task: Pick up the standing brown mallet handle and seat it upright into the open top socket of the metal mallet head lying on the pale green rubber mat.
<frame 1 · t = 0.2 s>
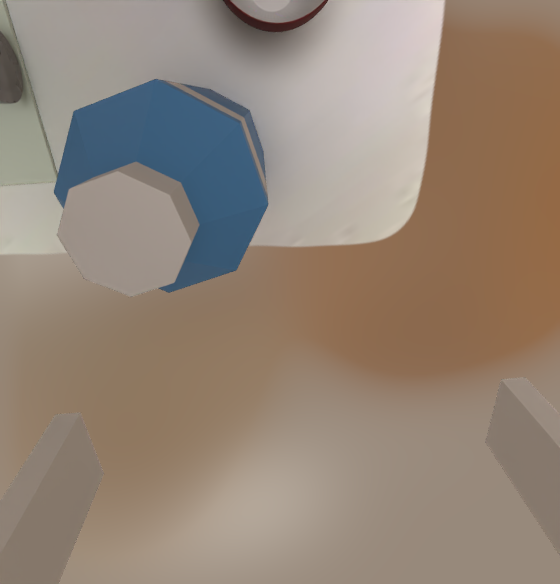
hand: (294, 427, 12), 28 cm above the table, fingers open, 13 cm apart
water bottle: (211, 148, 35), on the table
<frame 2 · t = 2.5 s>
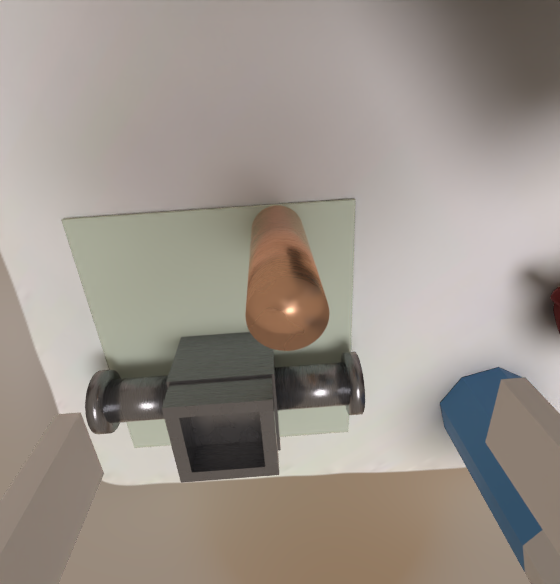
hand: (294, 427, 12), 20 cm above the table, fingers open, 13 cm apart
metal mallet head: (231, 369, 36), resting on mat
mat: (228, 340, 35), on the table
brown mallet handle: (277, 231, 30), resting on mat
water bottle: (483, 402, 40), on the table
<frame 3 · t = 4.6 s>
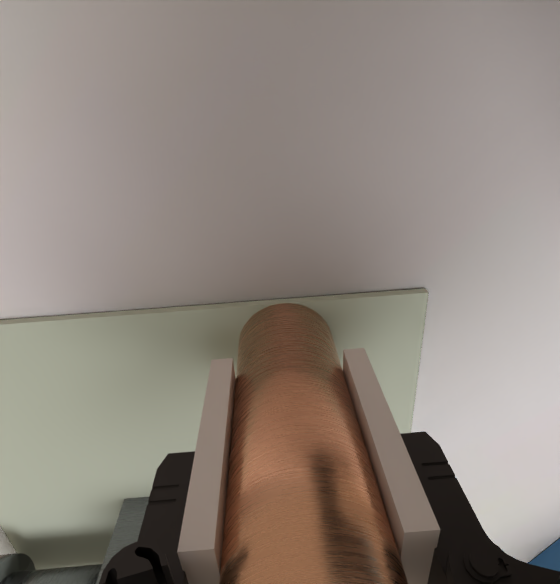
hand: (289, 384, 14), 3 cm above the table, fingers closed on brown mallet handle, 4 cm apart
metal mallet head: (210, 537, 22), resting on mat
mat: (203, 497, 21), on the table
brown mallet handle: (285, 344, 17), resting on mat, touching gripper
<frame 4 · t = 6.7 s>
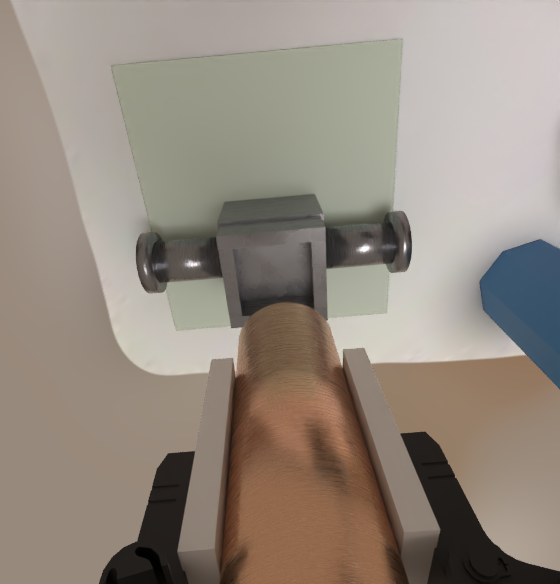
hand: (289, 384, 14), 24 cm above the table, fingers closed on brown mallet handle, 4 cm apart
metal mallet head: (273, 240, 36), resting on mat
mat: (270, 207, 35), on the table
brown mallet handle: (285, 343, 17), point 21 cm above the table, touching gripper
water bottle: (523, 281, 40), on the table
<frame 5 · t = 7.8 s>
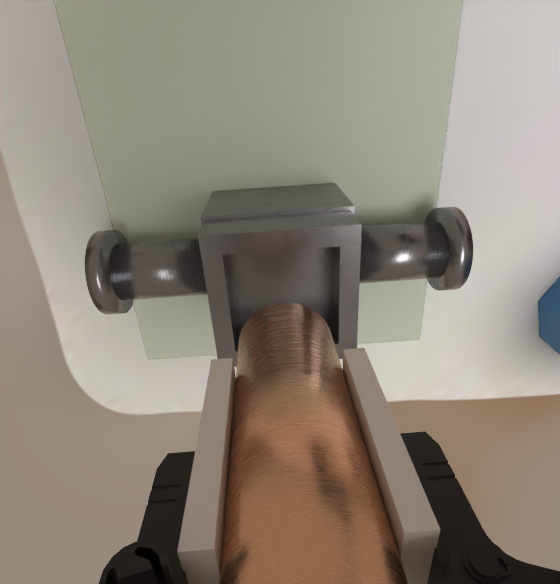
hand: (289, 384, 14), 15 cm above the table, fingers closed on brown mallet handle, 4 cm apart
metal mallet head: (277, 244, 27), resting on mat
mat: (274, 200, 26), on the table
brown mallet handle: (285, 343, 17), point 12 cm above the table, touching gripper
when the fingers open (11 cm above the table, at t = 8.8 s): brown mallet handle drops 1 cm, resting on metal mallet head.
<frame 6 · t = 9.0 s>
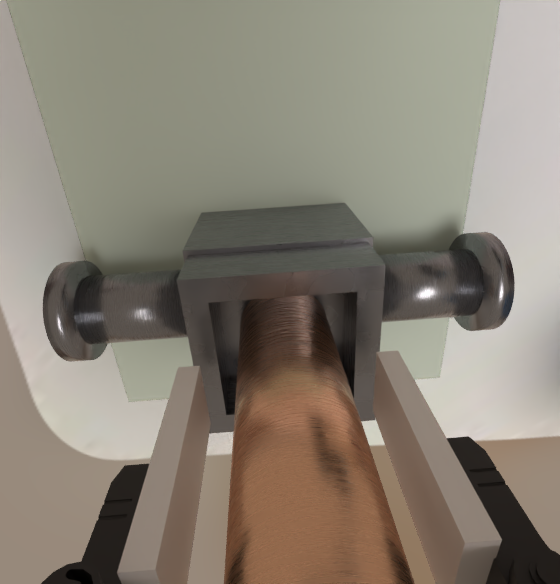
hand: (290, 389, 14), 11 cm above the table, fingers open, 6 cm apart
metal mallet head: (277, 273, 23), resting on mat
mat: (274, 222, 22), on the table
brown mallet handle: (283, 325, 18), point 6 cm above the table, touching metal mallet head
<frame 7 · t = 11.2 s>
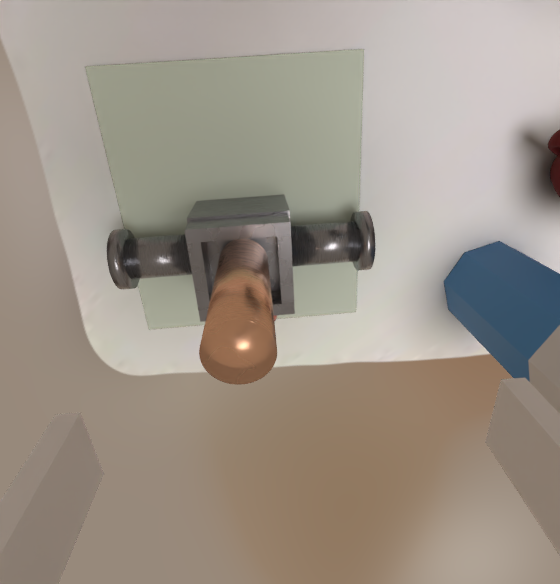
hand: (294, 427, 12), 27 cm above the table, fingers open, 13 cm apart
metal mallet head: (244, 239, 37), resting on mat
mat: (241, 207, 36), on the table
brown mallet handle: (243, 262, 32), point 6 cm above the table, touching metal mallet head
mug: (558, 161, 36), on the table
water bottle: (484, 282, 42), on the table
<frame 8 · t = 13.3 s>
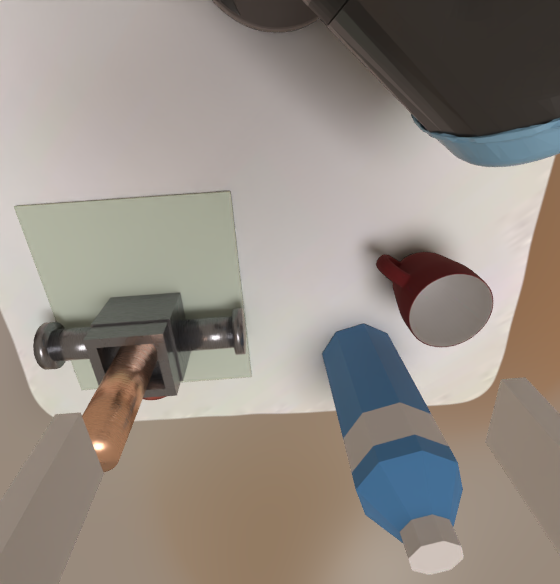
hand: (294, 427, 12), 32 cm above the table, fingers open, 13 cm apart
metal mallet head: (152, 324, 46), resting on mat
mat: (148, 300, 45), on the table
brown mallet handle: (138, 353, 41), point 6 cm above the table, touching metal mallet head
mug: (403, 265, 45), on the table
water bottle: (357, 353, 51), on the table
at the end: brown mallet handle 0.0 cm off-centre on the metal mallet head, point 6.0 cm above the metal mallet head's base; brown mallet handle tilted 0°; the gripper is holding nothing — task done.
